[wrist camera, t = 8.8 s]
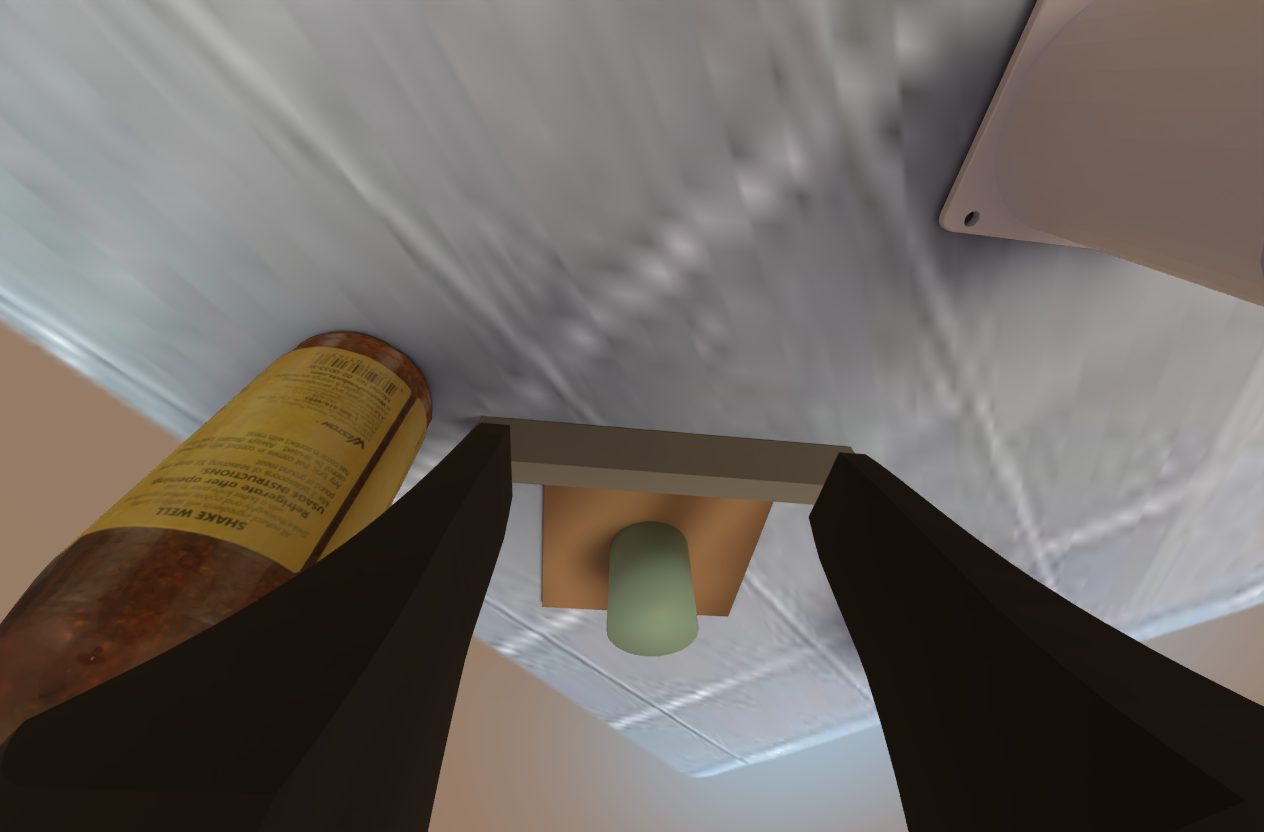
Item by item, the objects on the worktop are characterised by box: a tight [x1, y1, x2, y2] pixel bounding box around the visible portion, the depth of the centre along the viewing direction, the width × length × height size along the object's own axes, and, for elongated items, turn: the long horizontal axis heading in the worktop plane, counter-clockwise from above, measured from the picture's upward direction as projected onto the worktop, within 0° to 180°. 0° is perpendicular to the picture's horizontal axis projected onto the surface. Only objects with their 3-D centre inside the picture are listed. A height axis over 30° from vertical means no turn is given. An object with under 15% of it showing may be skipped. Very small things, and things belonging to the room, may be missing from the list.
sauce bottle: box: [0, 332, 432, 745], centre depth 13 cm, size 7×6×20 cm
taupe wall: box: [478, 416, 854, 505], centre depth 22 cm, size 18×1×3 cm, turn 83°
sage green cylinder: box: [607, 521, 698, 656], centre depth 25 cm, size 4×4×5 cm
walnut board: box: [542, 485, 773, 616], centre depth 27 cm, size 12×12×1 cm
